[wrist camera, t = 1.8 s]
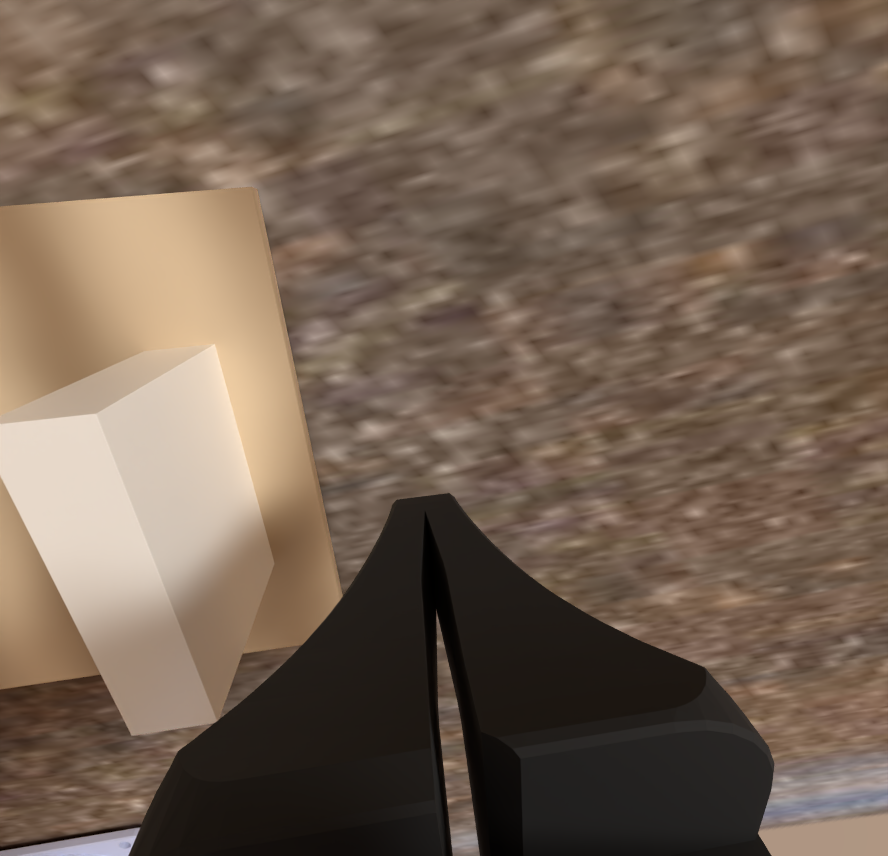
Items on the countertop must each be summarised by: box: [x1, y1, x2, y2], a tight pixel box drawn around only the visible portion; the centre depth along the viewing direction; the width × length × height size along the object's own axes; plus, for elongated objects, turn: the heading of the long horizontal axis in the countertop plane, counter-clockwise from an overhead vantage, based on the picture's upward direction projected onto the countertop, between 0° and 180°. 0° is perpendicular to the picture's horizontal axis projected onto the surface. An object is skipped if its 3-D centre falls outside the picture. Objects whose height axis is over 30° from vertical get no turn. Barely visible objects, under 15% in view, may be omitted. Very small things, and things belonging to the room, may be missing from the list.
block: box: [0, 344, 274, 736], centre depth 12 cm, size 2×8×6 cm, turn 5°
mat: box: [0, 187, 343, 689], centre depth 15 cm, size 14×16×1 cm
